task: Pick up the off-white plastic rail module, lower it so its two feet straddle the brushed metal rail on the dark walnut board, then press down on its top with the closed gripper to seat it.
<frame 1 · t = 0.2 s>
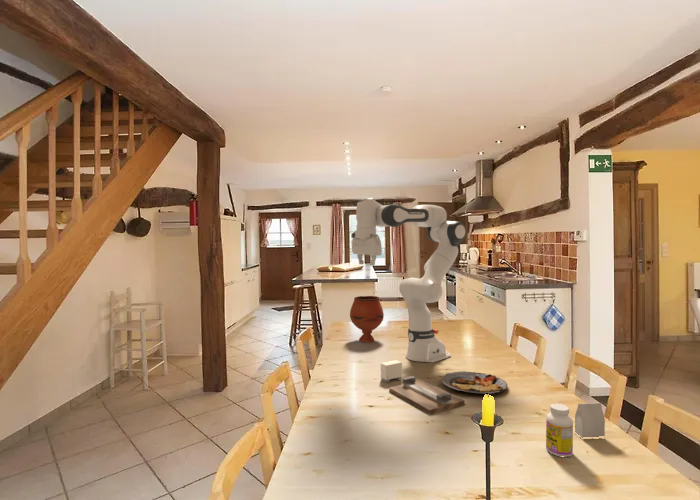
hand: (366, 264, 187), 47 cm above the table, fingers open, 8 cm apart
grey upright block: (589, 437, 124), on the table
food plate: (474, 387, 166), on the table
goblet: (367, 340, 238), on the table
rail board: (425, 397, 155), on the table
supplement bottle: (559, 452, 116), on the table
rail module: (391, 379, 174), on the table
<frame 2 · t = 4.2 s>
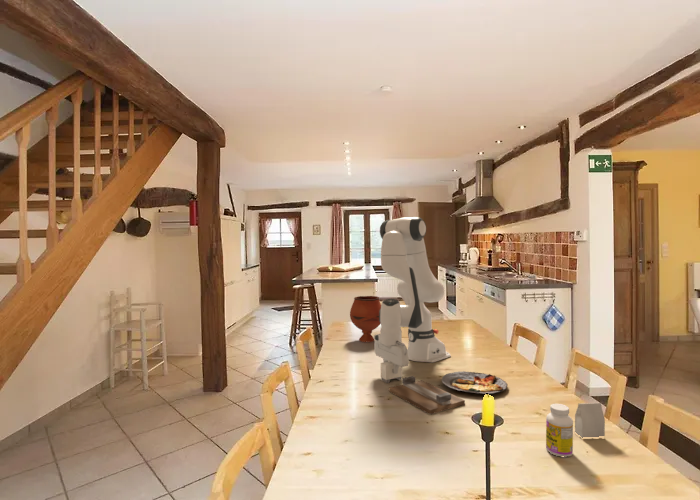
hand: (391, 371, 174), 4 cm above the table, fingers closed on rail module, 4 cm apart
rail module: (391, 379, 174), on the table, touching gripper
everything else where it was.
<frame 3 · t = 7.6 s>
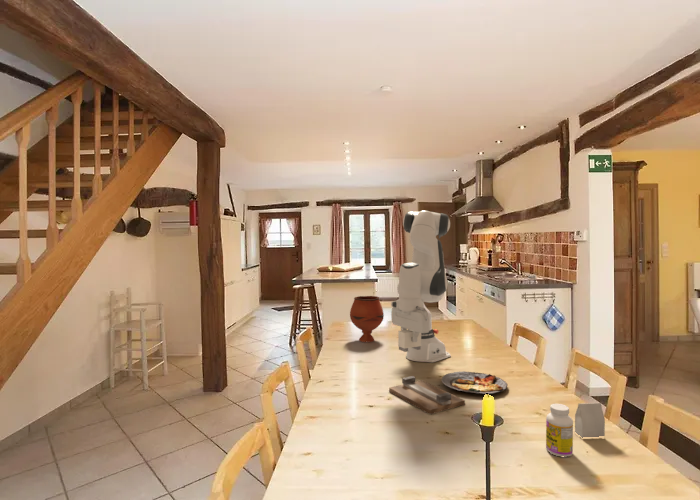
hand: (409, 340, 161), 20 cm above the table, fingers closed on rail module, 4 cm apart
rail module: (409, 349, 162), point 16 cm above the table, touching gripper
everything else where it was.
when the fingers open (7 cm above the table, at t = 11.0 s): rail module drops 2 cm, resting on rail board.
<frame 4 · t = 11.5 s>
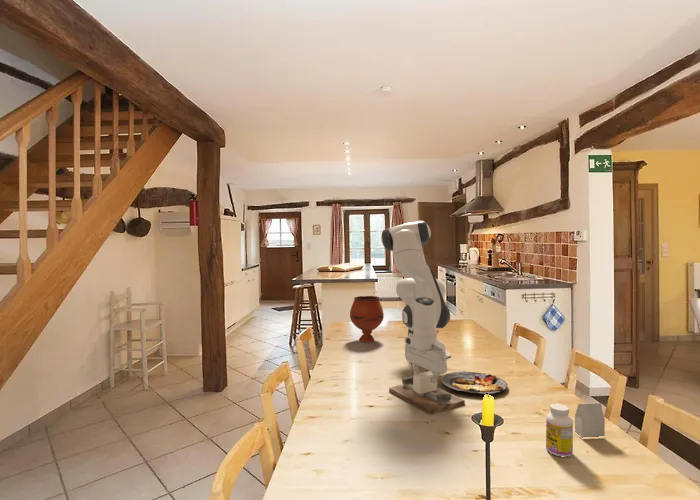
hand: (425, 378, 155), 7 cm above the table, fingers open, 8 cm apart
rail module: (425, 393, 155), point 1 cm above the table, touching rail board
everything else where it was.
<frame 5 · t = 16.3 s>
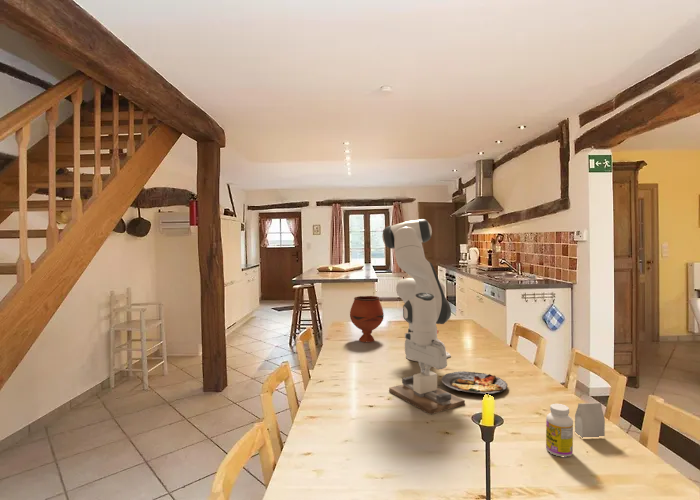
hand: (425, 374, 154), 9 cm above the table, fingers closed, pressing on rail module
rail module: (425, 393, 155), point 2 cm above the table, touching gripper, rail board
everything else where it was.
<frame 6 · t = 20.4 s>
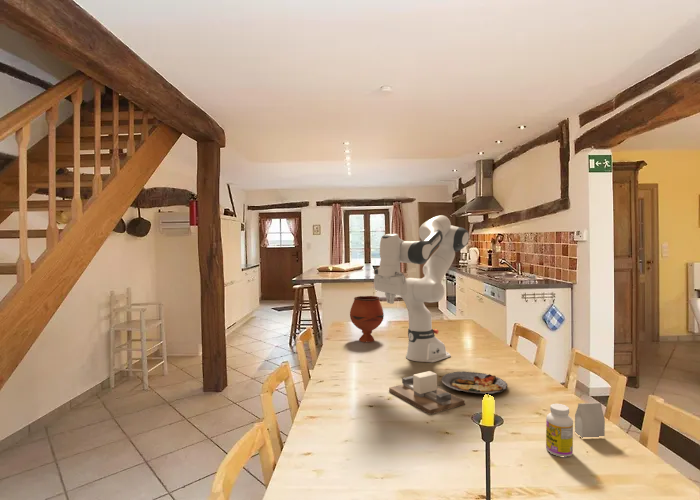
hand: (390, 303, 180), 31 cm above the table, fingers closed
rail module: (425, 393, 155), point 1 cm above the table, touching rail board
everything else where it was.
at the end: rail module 0.0 cm off-centre on the rail board, point 1.5 cm above the rail board's base; rail module tilted 0°; rail module touching rail board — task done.
